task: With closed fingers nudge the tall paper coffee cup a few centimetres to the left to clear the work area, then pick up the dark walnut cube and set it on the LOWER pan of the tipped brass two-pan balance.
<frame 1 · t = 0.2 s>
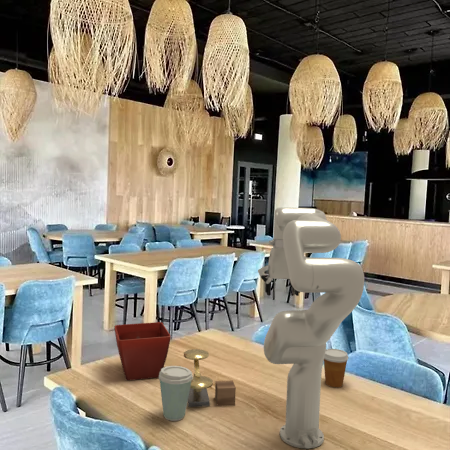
hand: (282, 294, 150), 36 cm above the table, tool pointing down, fingers open, 9 cm apart
plant pot: (140, 373, 171), on the table
walnut block: (224, 401, 149), on the table
disposable coffee cup 2: (174, 417, 138), on the table
balance: (196, 394, 154), on the table
disposable coffee cup: (334, 384, 166), on the table
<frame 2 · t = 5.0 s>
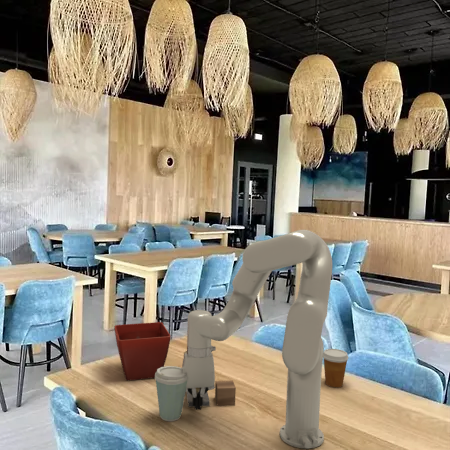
hand: (197, 407, 140), 2 cm above the table, tool pointing down, fingers closed
disposable coffee cup 2: (171, 417, 138), on the table, touching gripper
everything else where it was.
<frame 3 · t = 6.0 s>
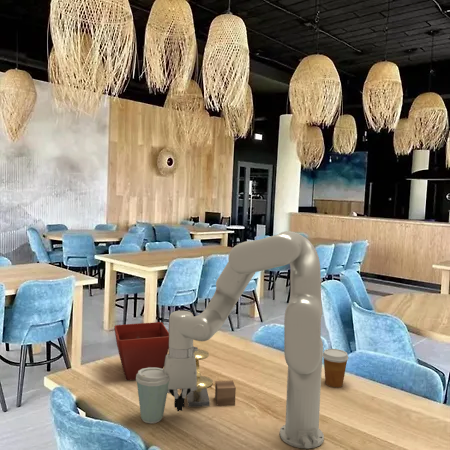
hand: (179, 409, 138), 2 cm above the table, tool pointing down, fingers closed
disposable coffee cup 2: (152, 419, 136), on the table, touching gripper
everything else where it was.
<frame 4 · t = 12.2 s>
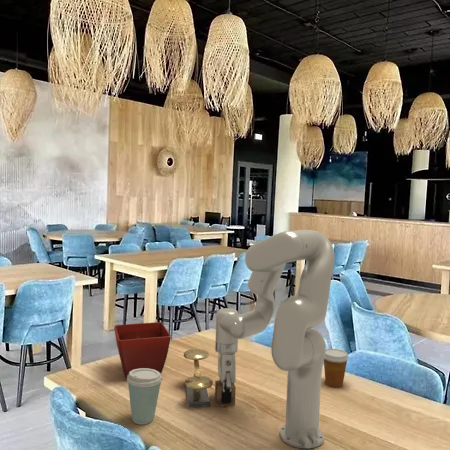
hand: (224, 398, 149), 1 cm above the table, tool pointing down, fingers closed on walnut block, 6 cm apart
walnut block: (224, 401, 149), on the table, touching gripper
disposable coffee cup 2: (143, 420, 135), on the table
everything else where it was.
when the fingers open (10 cm above the table, at t = 16.2 s): walnut block drops 1 cm, resting on balance.
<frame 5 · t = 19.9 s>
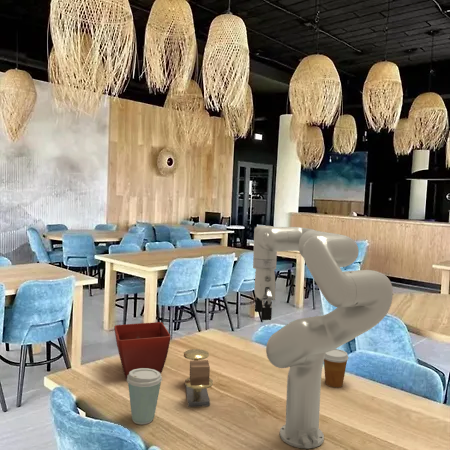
hand: (262, 315, 145), 30 cm above the table, tool pointing down, fingers open, 9 cm apart
walnut block: (199, 381, 147), point 8 cm above the table, touching balance
everything else where it was.
at the end: walnut block inside the target area on the balance (0.1 cm from its centre), point 7.6 cm above the balance's base; walnut block tilted 0°; disposable coffee cup 2 moved 9.6 cm from its start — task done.
